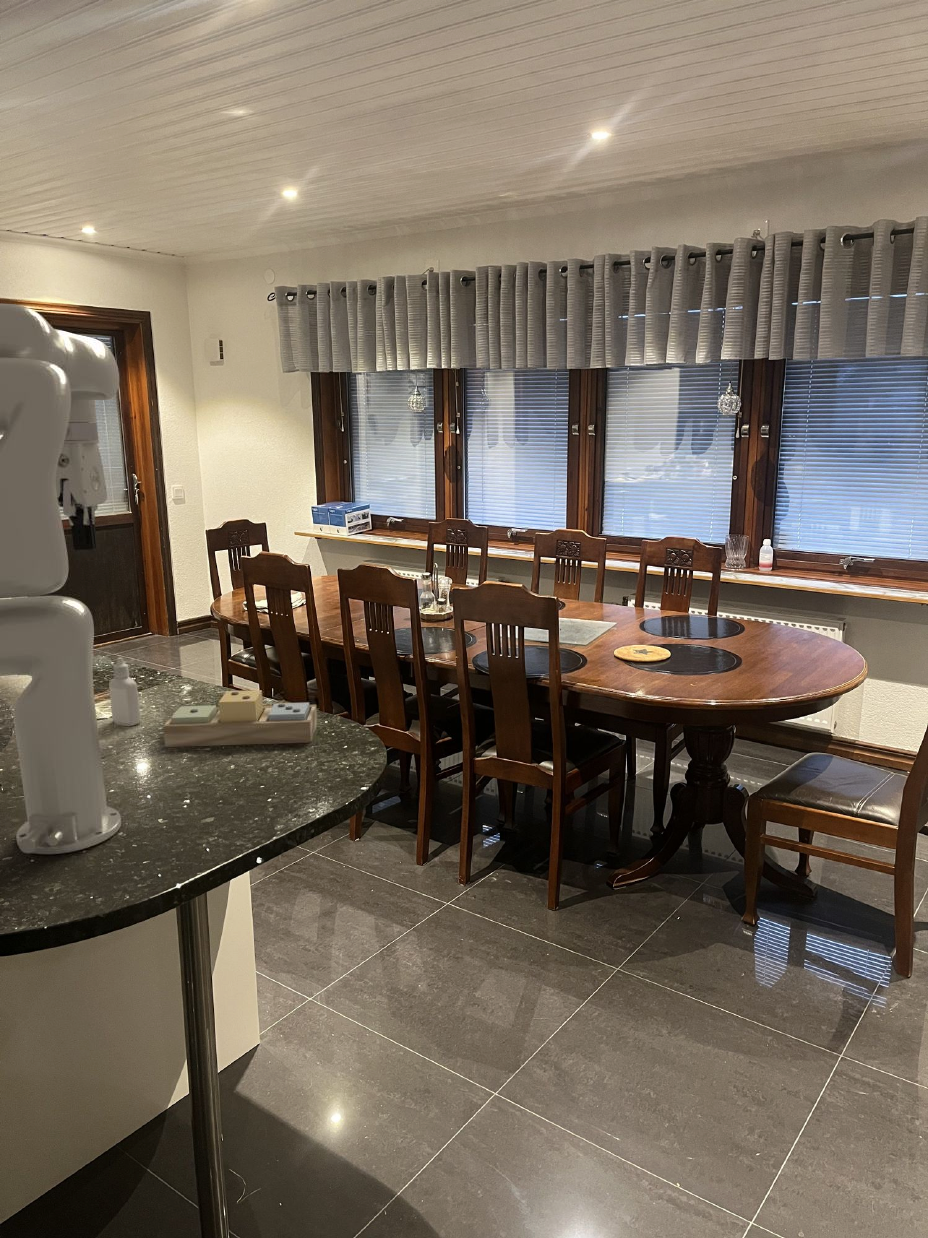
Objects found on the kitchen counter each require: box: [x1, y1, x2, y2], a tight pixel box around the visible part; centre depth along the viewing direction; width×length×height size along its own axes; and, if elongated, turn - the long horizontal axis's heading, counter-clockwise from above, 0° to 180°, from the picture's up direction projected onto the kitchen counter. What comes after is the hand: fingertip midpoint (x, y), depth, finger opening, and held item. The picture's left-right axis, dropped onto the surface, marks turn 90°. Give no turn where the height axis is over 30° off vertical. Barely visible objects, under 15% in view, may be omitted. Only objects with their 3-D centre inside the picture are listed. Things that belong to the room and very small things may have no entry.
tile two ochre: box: [218, 689, 264, 722], centre depth 151 cm, size 6×6×4 cm
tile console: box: [162, 704, 318, 748], centre depth 152 cm, size 9×24×4 cm, turn 92°
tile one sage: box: [170, 704, 217, 724], centre depth 151 cm, size 6×6×4 cm
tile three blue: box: [268, 702, 310, 721], centre depth 152 cm, size 6×6×4 cm
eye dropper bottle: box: [108, 657, 142, 727], centre depth 158 cm, size 4×6×12 cm
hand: (85, 548), depth 146 cm, fingers closed
